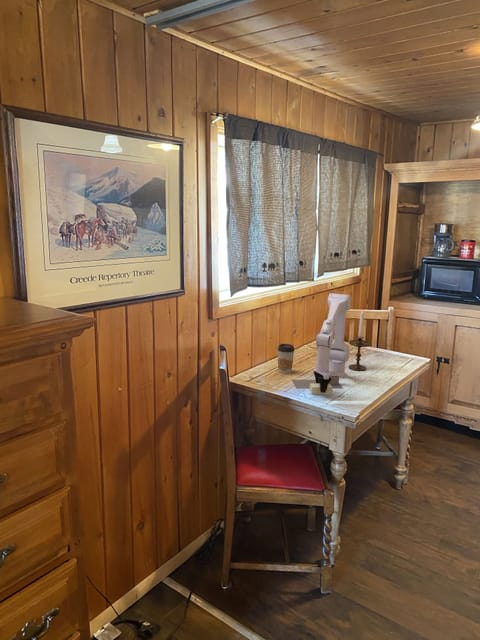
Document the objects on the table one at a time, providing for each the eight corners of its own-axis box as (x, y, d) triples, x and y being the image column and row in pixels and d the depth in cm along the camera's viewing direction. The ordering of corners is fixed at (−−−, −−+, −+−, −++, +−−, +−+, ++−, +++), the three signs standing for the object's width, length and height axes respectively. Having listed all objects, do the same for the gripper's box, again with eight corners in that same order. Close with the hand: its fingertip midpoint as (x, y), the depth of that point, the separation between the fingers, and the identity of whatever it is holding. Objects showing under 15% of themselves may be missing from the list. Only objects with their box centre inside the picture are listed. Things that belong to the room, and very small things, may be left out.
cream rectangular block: (309, 391, 220) (309, 383, 219) (328, 391, 221) (329, 383, 220) (311, 395, 215) (312, 387, 214) (331, 395, 216) (332, 387, 215)
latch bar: (328, 374, 229) (328, 371, 229) (343, 374, 230) (343, 371, 229) (329, 375, 227) (329, 372, 227) (344, 376, 228) (344, 372, 228)
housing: (291, 382, 234) (291, 371, 233) (335, 382, 236) (336, 371, 235) (296, 391, 222) (296, 380, 221) (343, 391, 224) (344, 380, 223)
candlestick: (352, 372, 253) (358, 305, 245) (343, 365, 263) (349, 301, 255) (371, 371, 255) (377, 305, 247) (362, 365, 265) (368, 301, 258)
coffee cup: (274, 375, 243) (275, 346, 240) (279, 370, 251) (280, 342, 247) (290, 378, 240) (292, 348, 237) (294, 373, 248) (296, 344, 244)
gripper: (310, 355, 221) (308, 383, 224) (318, 365, 207) (316, 395, 210) (325, 355, 222) (323, 383, 225) (334, 365, 208) (332, 395, 211)
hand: (320, 389), depth 217 cm, fingers open, 7 cm apart
